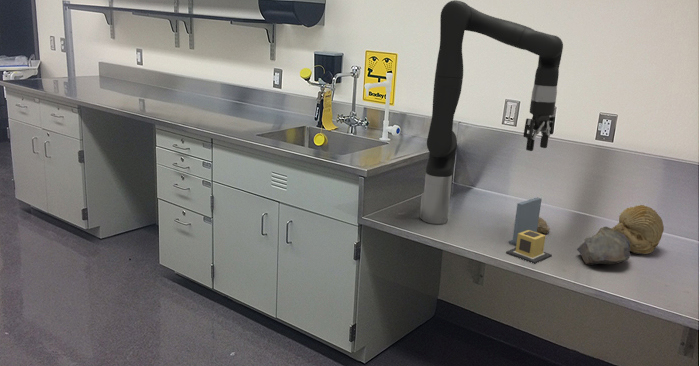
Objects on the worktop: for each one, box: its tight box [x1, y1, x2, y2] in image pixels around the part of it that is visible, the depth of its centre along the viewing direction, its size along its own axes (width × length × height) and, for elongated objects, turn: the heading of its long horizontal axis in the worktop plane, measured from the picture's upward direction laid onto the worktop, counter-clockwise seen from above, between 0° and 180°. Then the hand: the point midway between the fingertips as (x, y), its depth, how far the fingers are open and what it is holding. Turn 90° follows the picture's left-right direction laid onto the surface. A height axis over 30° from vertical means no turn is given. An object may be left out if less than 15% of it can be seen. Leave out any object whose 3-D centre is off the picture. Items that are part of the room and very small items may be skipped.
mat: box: [505, 247, 553, 264], centre depth 181 cm, size 10×10×1 cm
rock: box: [537, 216, 551, 235], centre depth 205 cm, size 8×11×4 cm
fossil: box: [611, 204, 665, 255], centre depth 190 cm, size 15×17×15 cm
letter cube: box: [515, 230, 547, 258], centre depth 180 cm, size 6×6×6 cm
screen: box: [508, 196, 542, 246], centre depth 191 cm, size 4×12×14 cm, turn 132°
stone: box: [576, 226, 632, 266], centre depth 178 cm, size 18×10×15 cm
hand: (536, 149), depth 190 cm, fingers open, 8 cm apart
